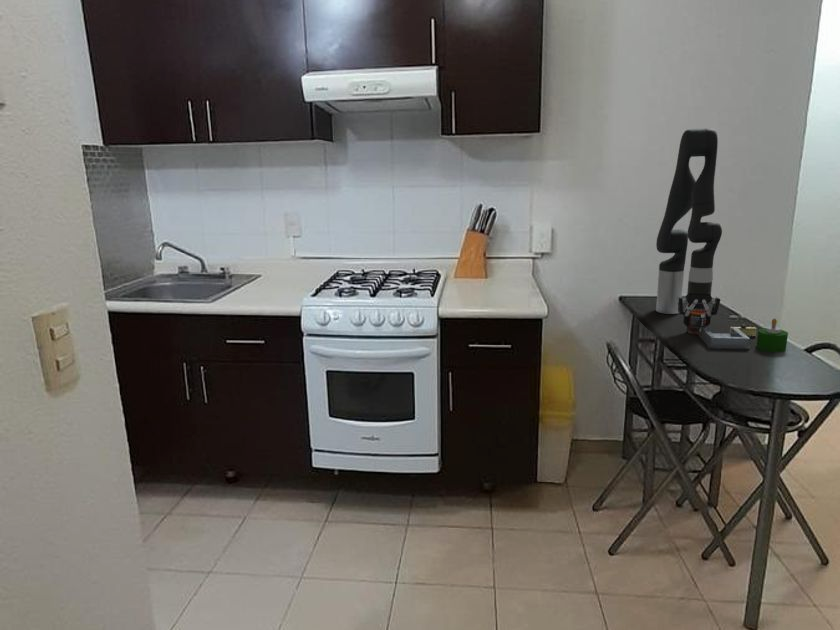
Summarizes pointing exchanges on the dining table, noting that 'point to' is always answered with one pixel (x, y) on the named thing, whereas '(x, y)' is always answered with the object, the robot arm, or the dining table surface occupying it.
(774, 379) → the dining table surface
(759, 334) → the candle
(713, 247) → the robot arm
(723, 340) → the dock
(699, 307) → the supplement bottle
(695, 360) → the dining table surface
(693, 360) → the dining table surface
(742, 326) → the bar
